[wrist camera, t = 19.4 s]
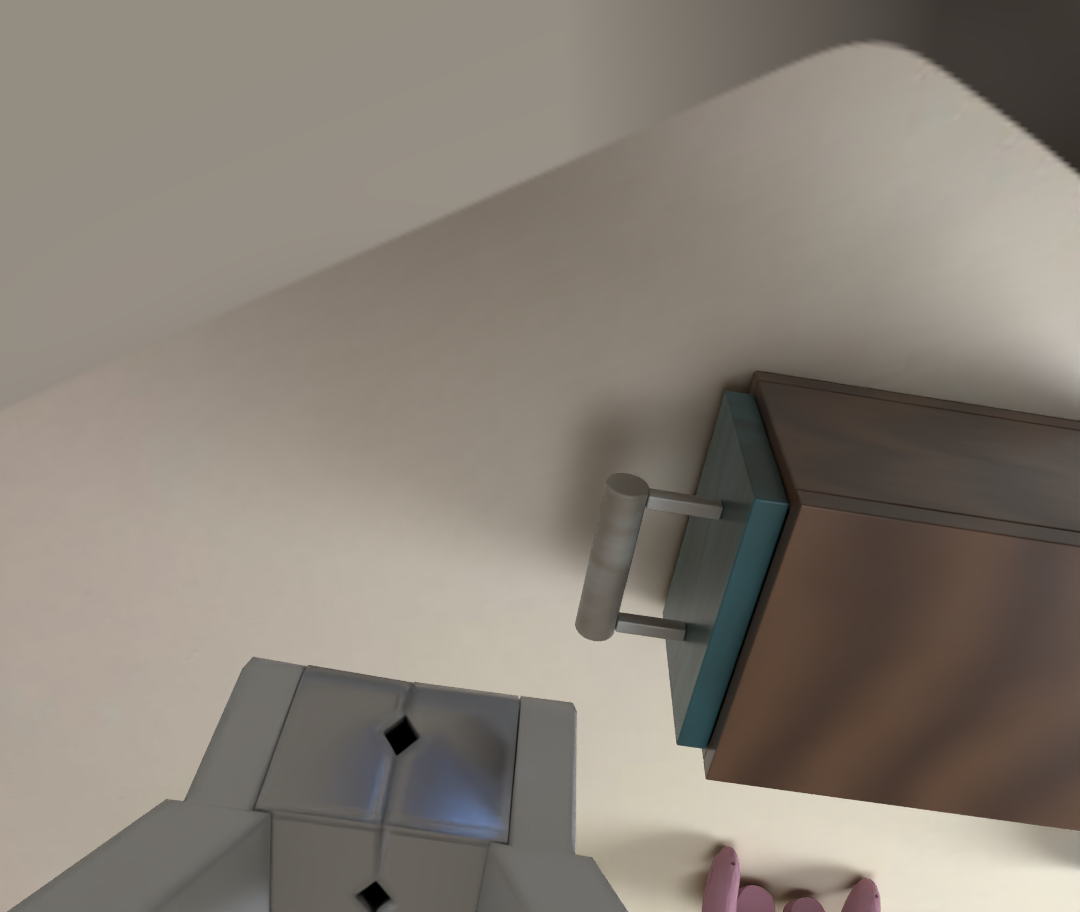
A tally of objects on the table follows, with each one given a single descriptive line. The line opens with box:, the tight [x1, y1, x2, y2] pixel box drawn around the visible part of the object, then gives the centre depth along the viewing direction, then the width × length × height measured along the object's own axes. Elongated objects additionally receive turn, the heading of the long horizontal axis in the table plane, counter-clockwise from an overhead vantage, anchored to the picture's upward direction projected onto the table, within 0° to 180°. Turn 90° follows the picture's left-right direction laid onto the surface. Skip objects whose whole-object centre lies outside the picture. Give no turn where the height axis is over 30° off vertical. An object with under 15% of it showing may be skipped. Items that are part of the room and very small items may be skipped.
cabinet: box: [702, 371, 1080, 831], centre depth 38 cm, size 16×13×10 cm
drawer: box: [575, 391, 790, 749], centre depth 38 cm, size 19×12×8 cm, turn 81°
